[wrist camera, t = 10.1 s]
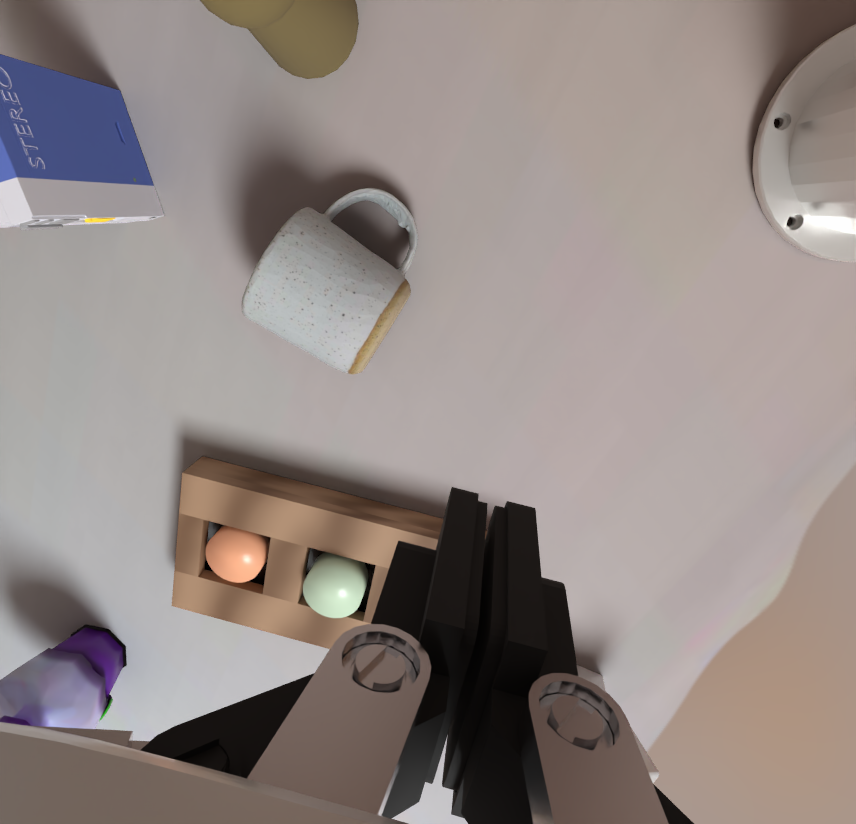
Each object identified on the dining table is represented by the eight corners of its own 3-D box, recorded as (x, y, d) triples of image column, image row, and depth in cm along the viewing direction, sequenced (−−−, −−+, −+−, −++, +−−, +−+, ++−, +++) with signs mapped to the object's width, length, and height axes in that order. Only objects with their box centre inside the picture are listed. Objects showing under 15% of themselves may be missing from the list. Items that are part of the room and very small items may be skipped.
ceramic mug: (371, 367, 41) (344, 399, 34) (270, 304, 41) (220, 323, 33) (451, 232, 38) (440, 235, 30) (342, 161, 37) (303, 147, 30)
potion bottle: (125, 702, 55) (27, 830, 44) (42, 657, 54) (-79, 775, 43) (157, 642, 52) (60, 762, 41) (69, 593, 51) (-53, 702, 40)
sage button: (373, 557, 44) (366, 576, 42) (363, 604, 46) (355, 624, 44) (317, 542, 44) (307, 560, 42) (309, 589, 46) (299, 609, 44)
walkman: (83, 102, 38) (-97, 57, 26) (120, 90, 37) (-47, 39, 26) (129, 227, 40) (-18, 235, 29) (165, 217, 39) (29, 221, 28)
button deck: (519, 538, 44) (520, 561, 41) (480, 661, 48) (479, 689, 45) (202, 456, 45) (182, 472, 42) (190, 583, 49) (171, 605, 46)
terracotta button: (276, 524, 46) (264, 540, 43) (269, 570, 47) (258, 588, 45) (222, 510, 46) (208, 525, 44) (217, 556, 47) (203, 574, 45)
